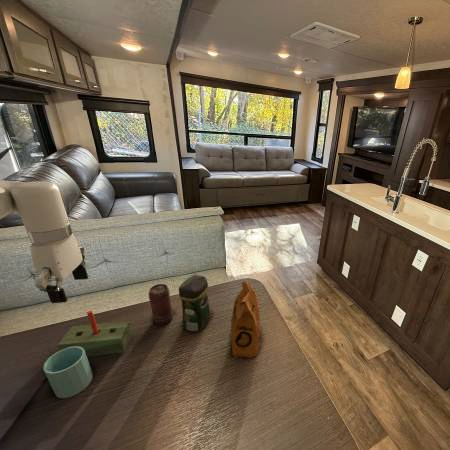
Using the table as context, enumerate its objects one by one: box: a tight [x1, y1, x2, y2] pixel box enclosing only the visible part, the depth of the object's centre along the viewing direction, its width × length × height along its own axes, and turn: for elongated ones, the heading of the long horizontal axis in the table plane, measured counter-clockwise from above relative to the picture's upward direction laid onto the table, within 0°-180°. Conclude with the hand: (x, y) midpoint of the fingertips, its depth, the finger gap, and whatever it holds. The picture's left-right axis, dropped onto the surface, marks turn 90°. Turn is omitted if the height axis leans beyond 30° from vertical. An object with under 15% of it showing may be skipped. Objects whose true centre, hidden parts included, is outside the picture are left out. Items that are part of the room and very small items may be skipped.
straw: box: [86, 310, 99, 335], centre depth 75 cm, size 1×1×14 cm
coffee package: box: [230, 280, 262, 359], centre depth 80 cm, size 10×12×22 cm
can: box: [148, 283, 174, 326], centre depth 87 cm, size 6×6×14 cm
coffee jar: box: [178, 274, 212, 332], centre depth 87 cm, size 10×8×19 cm
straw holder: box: [57, 320, 134, 358], centre depth 77 cm, size 7×16×6 cm, turn 103°
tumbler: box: [42, 346, 94, 399], centre depth 65 cm, size 8×8×10 cm
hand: (71, 289), depth 67 cm, fingers open, 9 cm apart
